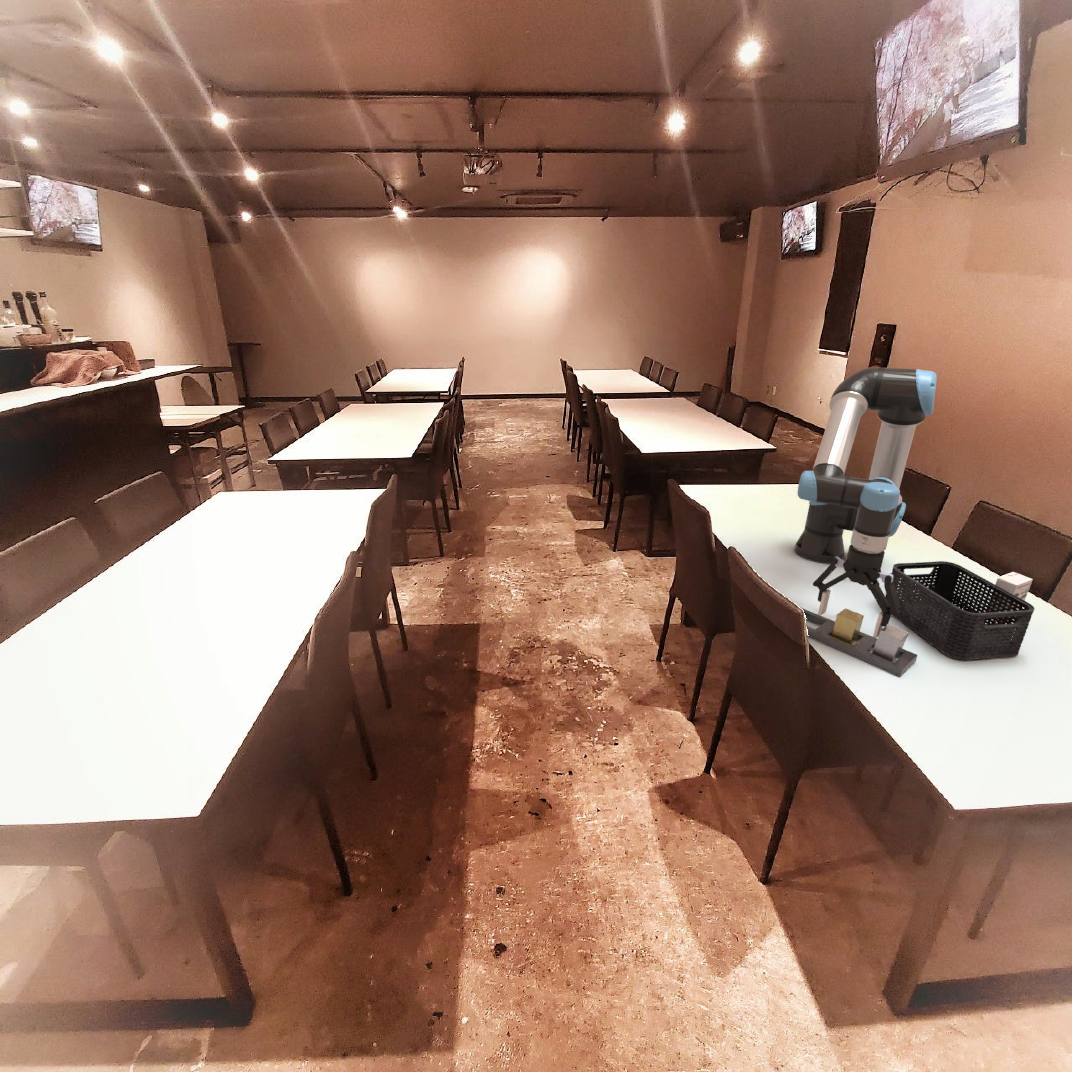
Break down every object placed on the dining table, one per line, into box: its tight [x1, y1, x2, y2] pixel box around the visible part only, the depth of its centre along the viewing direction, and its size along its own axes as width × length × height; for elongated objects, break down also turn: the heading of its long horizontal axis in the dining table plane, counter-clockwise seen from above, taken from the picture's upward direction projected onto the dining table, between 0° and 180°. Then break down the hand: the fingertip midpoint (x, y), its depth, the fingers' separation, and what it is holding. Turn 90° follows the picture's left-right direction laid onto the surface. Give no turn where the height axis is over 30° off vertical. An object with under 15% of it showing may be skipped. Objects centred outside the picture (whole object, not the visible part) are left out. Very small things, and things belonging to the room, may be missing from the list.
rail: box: [801, 607, 918, 678], centre depth 149 cm, size 30×9×2 cm, turn 40°
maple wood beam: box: [832, 608, 865, 645], centre depth 148 cm, size 5×5×8 cm
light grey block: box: [871, 623, 910, 663], centre depth 141 cm, size 5×5×8 cm
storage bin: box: [885, 560, 1036, 661], centre depth 153 cm, size 29×19×13 cm
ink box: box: [989, 571, 1034, 622], centre depth 160 cm, size 9×5×12 cm, turn 118°
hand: (848, 624), depth 148 cm, fingers open, 13 cm apart
